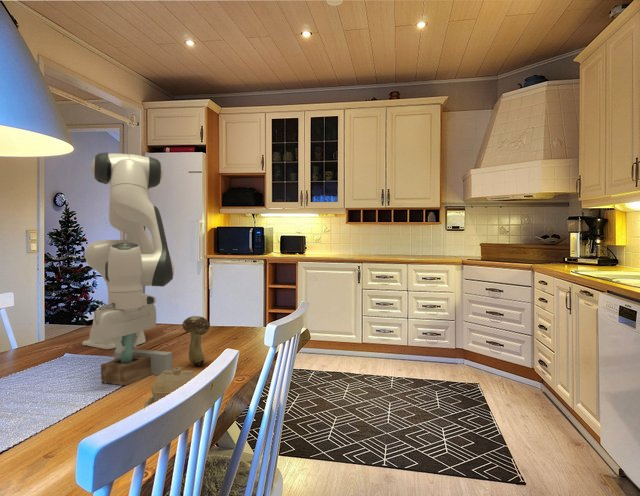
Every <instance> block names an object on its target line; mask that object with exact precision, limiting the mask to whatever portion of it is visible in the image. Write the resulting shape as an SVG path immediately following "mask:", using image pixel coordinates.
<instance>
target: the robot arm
mask: <svg viewBox="0 0 640 496" xmlns="http://www.w3.org/2000/svg"><path fill="white" fill-rule="evenodd" d="M91 172H92V175H93V177H94V179H95V180H96V182H98V183H100V184H104V185H108V184H109V206H108V207H109V213H108V222H109V224H110V225H111V227H112V228H114V229H115V230H118V231H119V232H122V233H124V234H125V237H126V238H125V239H102V240H96V241H92V242H90V244H88V245H87V247H86V248H85V252H84V258H85V261H86V263H87V265H88V266H89V267H90V268H92V269H93V270H94V271H96V272H98V273H99V274H100V276H101V277H102V278H103V279H104V281H105V285H106V288H107V304H105V305H103V304H102V305H99V306H98V308H96V309H95V310H94V313H93V321H92V327H91V328H90V330H89V338H88V339H86V340H84V341H82V343H81V345H82V346H86V345H87V346H89V347H93V348H97V349H104V350H111V349H115V350H116V353H122V352H125V346H122V344H121V341H122V336H126V335H129V334H132V349H137V346H139V345H141V344H144V343H146V341H147V340H146V335H145V332H144V331H147V330H151V329H154V328H155V326H156V324H157V308H156V305H155V304H156V302H157V298H156V296H155V295H150V294H146V293H144V288H143V287H149V286H151V287H163V288H164V287H165V286H167V285H168V284H170V282H171V281H173V279H174V274H175V267H174V263H173V259H172V257H171V254H170V251H169V250H170V249H169V246H168V241H167V237H166V232H165V227H164V224H163V220H162V216H161V212H160V210H159V208H158V207H157V206H155V205H153V203H152V202H151V200H150V198H149V190H150V189H152V188H155V187H157V186H159V185H160V184H161V181H162V179H163V175H164V170H163V167H162V163H161V161H160V160H159V159H157V158H155V157H151V156H149V157H147V156H143V155H139V154H132V153H128V154H127V153H109V152H100V153H99V152H98V153H97V154H96V155H95V156H94V158H93V160H92V163H91ZM145 228H147V229H148V230H149V231H150V234H151V237H150V236H149V235H148V234H147V232H146V230H145ZM151 238H152V239H151Z"/></svg>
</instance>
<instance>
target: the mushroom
mask: <svg viewBox="0 0 640 496" xmlns="http://www.w3.org/2000/svg"><path fill="white" fill-rule="evenodd" d="M181 325H182V328H183V329H184V330H185V332H188V333H190V344H189V349H188V359H189V362H191V364H193V365H194V366H195V367H200V366H202V365H203V364H204V363H205V356H204V353H203V350H202V345H201V344H202V336H203V335H205V334H206V333H208V331H210V329H211V323H210V322H209V320H208V319H206V317H203V316H201V315H199V316H198V315H194V316H193V315H192V316H189V317H187V318H186V319H184V320H183V322H182V323H181Z"/></svg>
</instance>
